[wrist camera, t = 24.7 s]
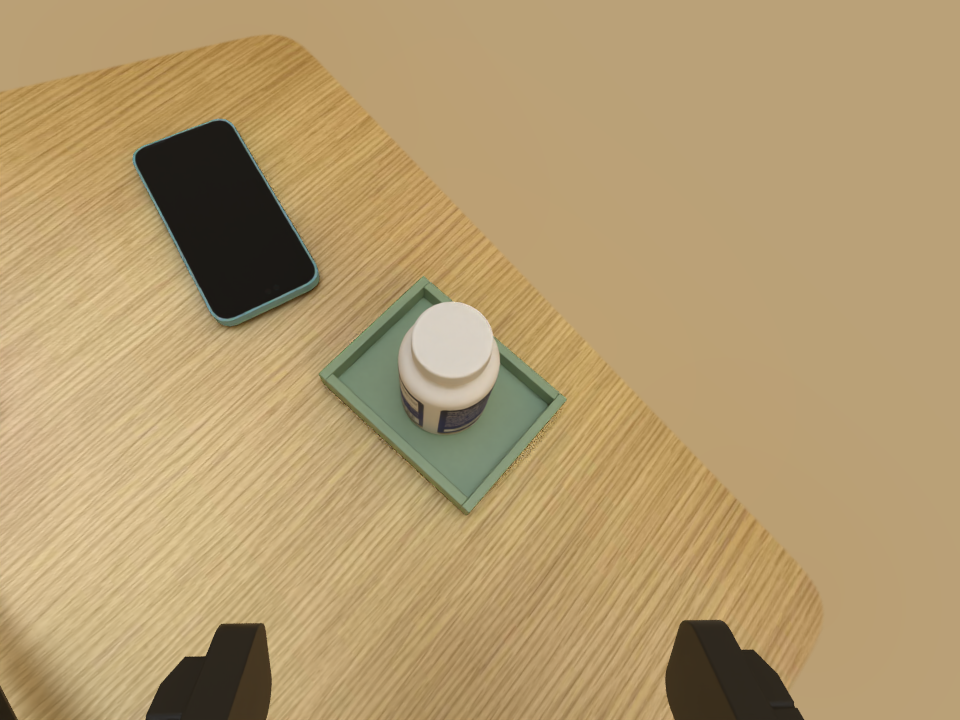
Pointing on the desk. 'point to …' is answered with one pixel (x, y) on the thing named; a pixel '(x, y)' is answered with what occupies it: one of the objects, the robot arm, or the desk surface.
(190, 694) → the robot arm
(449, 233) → the desk surface
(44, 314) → the desk surface
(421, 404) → the pill bottle
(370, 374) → the tray
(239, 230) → the smartphone
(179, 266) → the desk surface
